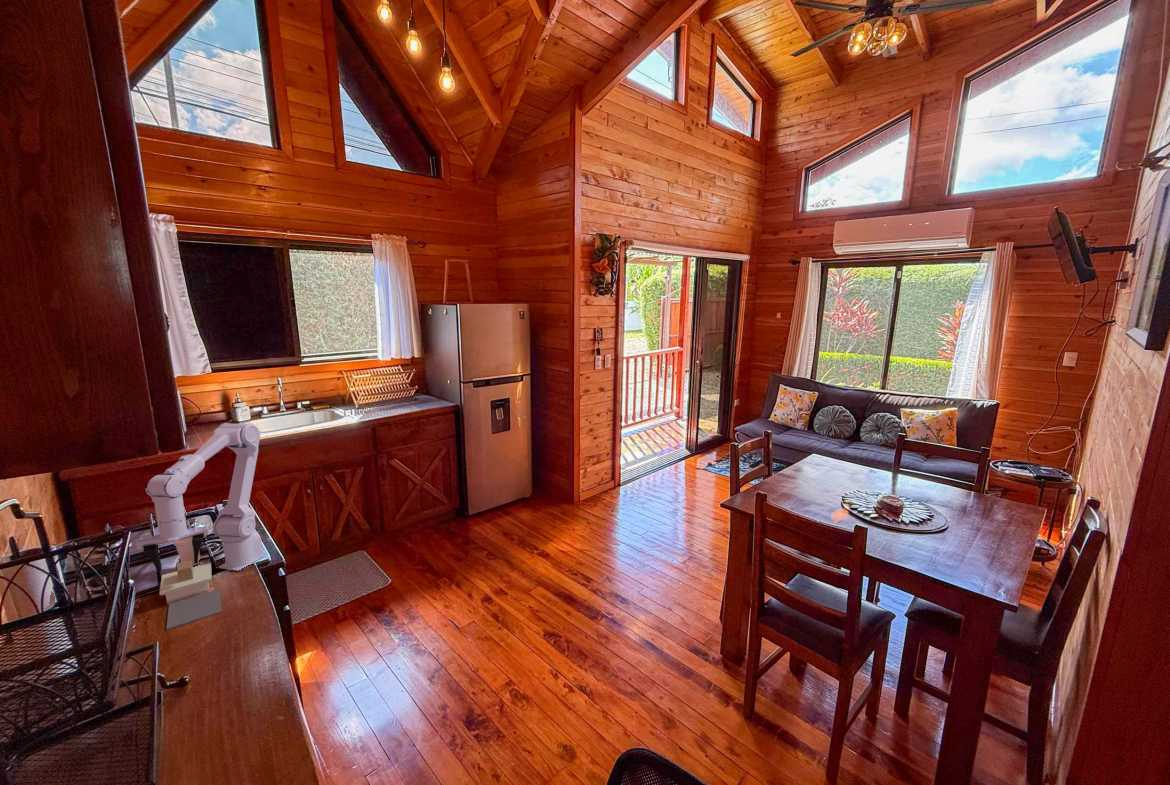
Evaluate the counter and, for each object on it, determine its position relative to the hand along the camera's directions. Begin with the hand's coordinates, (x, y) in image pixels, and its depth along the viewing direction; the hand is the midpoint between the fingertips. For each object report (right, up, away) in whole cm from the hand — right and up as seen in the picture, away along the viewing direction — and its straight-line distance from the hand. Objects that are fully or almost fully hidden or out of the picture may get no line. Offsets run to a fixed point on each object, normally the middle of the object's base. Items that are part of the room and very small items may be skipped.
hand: (178, 565), depth 131 cm
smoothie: (-11, -7, +18) cm, 23 cm away
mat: (+6, -11, -2) cm, 13 cm away
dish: (-2, -9, +6) cm, 11 cm away
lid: (-2, -6, +5) cm, 8 cm away
